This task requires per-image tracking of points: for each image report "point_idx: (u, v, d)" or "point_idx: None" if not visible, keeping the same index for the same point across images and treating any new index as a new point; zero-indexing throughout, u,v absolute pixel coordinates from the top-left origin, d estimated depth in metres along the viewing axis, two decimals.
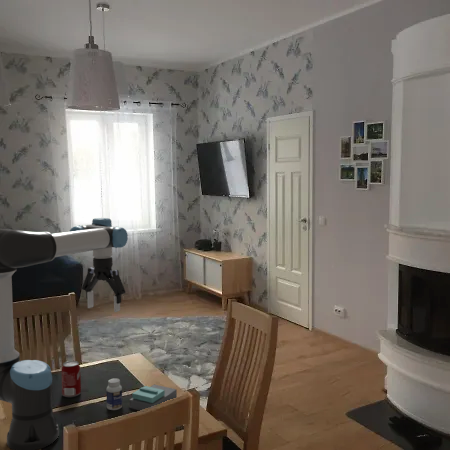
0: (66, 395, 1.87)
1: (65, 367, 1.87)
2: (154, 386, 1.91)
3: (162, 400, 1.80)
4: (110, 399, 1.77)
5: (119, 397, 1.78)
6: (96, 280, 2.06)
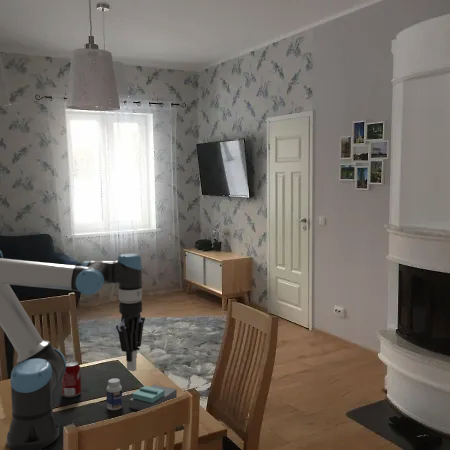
0: (66, 395, 1.87)
1: None
2: (154, 386, 1.91)
3: (162, 400, 1.80)
4: (110, 399, 1.77)
5: (119, 397, 1.78)
6: None
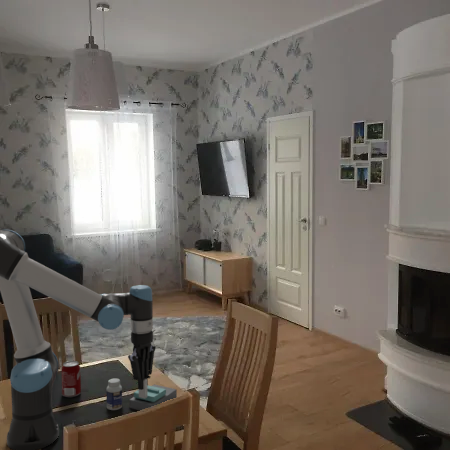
0: (66, 395, 1.87)
1: (65, 367, 1.87)
2: (154, 386, 1.91)
3: (162, 400, 1.80)
4: (110, 399, 1.77)
5: (119, 397, 1.78)
6: None
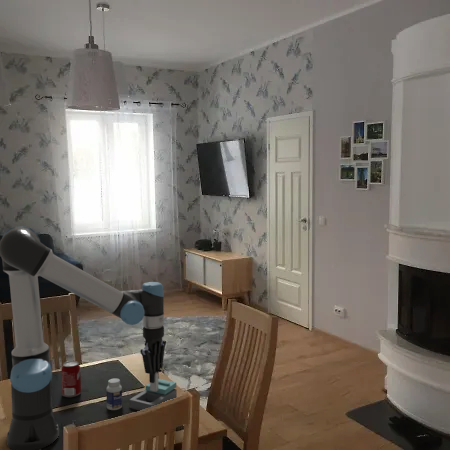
0: (66, 395, 1.87)
1: (65, 367, 1.87)
2: None
3: (162, 400, 1.80)
4: (110, 399, 1.77)
5: (119, 397, 1.78)
6: None
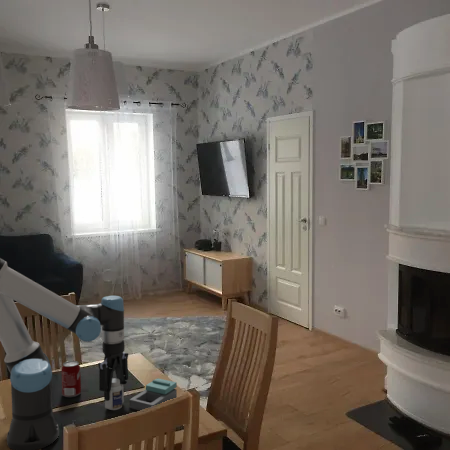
0: (66, 395, 1.87)
1: (65, 367, 1.87)
2: None
3: (162, 400, 1.80)
4: None
5: (119, 397, 1.78)
6: (116, 367, 1.81)
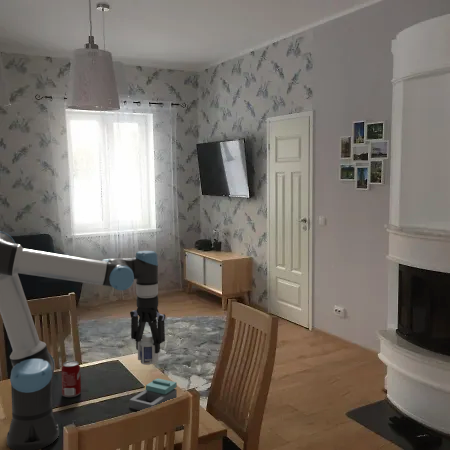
0: (66, 395, 1.87)
1: (65, 367, 1.87)
2: None
3: (162, 400, 1.80)
4: None
5: None
6: (143, 324, 1.80)
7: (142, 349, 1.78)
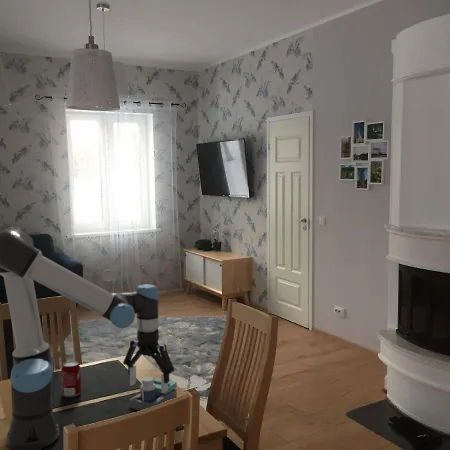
0: (66, 395, 1.87)
1: (65, 367, 1.87)
2: None
3: (162, 400, 1.80)
4: (155, 395, 1.80)
5: None
6: (140, 354, 1.81)
7: (142, 393, 1.79)
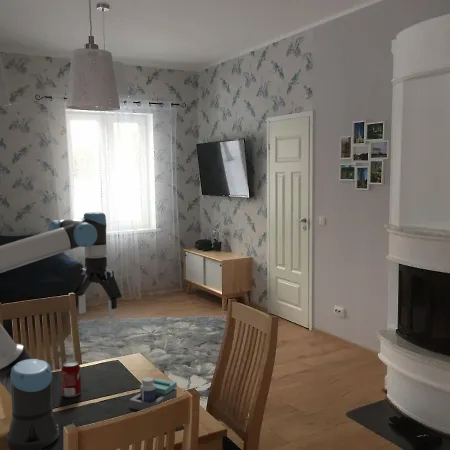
0: (66, 395, 1.87)
1: (65, 367, 1.87)
2: None
3: (162, 400, 1.80)
4: (155, 395, 1.80)
5: None
6: (88, 282, 1.82)
7: (142, 393, 1.79)
